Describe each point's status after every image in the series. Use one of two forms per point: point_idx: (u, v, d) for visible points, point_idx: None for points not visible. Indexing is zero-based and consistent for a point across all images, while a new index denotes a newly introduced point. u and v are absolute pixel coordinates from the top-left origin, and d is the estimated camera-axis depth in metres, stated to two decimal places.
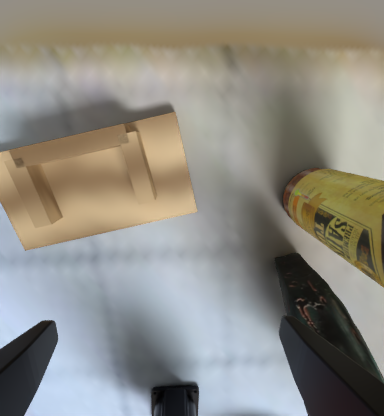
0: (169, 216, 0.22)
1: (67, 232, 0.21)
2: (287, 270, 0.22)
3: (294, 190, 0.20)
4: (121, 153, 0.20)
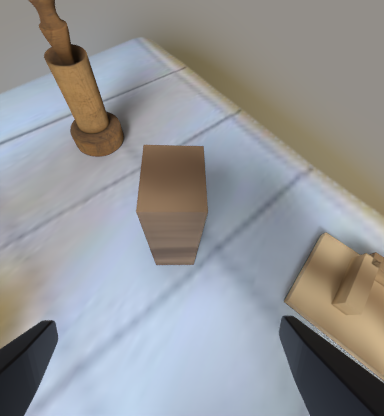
0: None
1: (337, 328, 0.20)
2: None
3: None
4: None
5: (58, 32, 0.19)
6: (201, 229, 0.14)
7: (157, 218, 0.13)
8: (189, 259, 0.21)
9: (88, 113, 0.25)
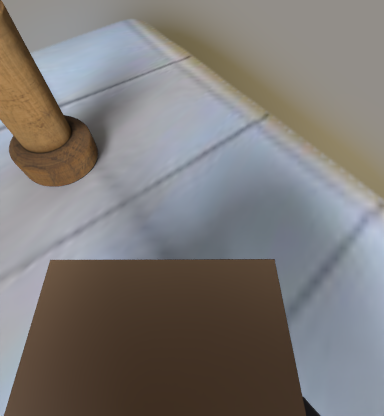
0: None
1: None
2: None
3: None
4: None
5: None
6: None
7: None
8: None
9: (26, 120, 0.14)
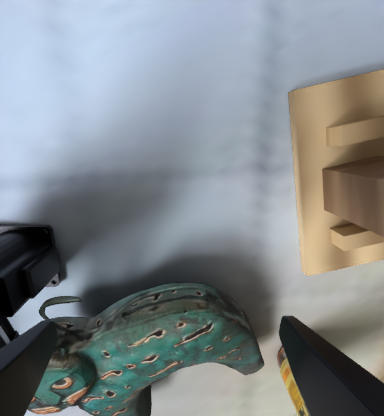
0: (307, 252, 0.22)
1: (308, 147, 0.19)
2: None
3: None
4: None
5: None
6: None
7: None
8: (340, 211, 0.18)
9: None
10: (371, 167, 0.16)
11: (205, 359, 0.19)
